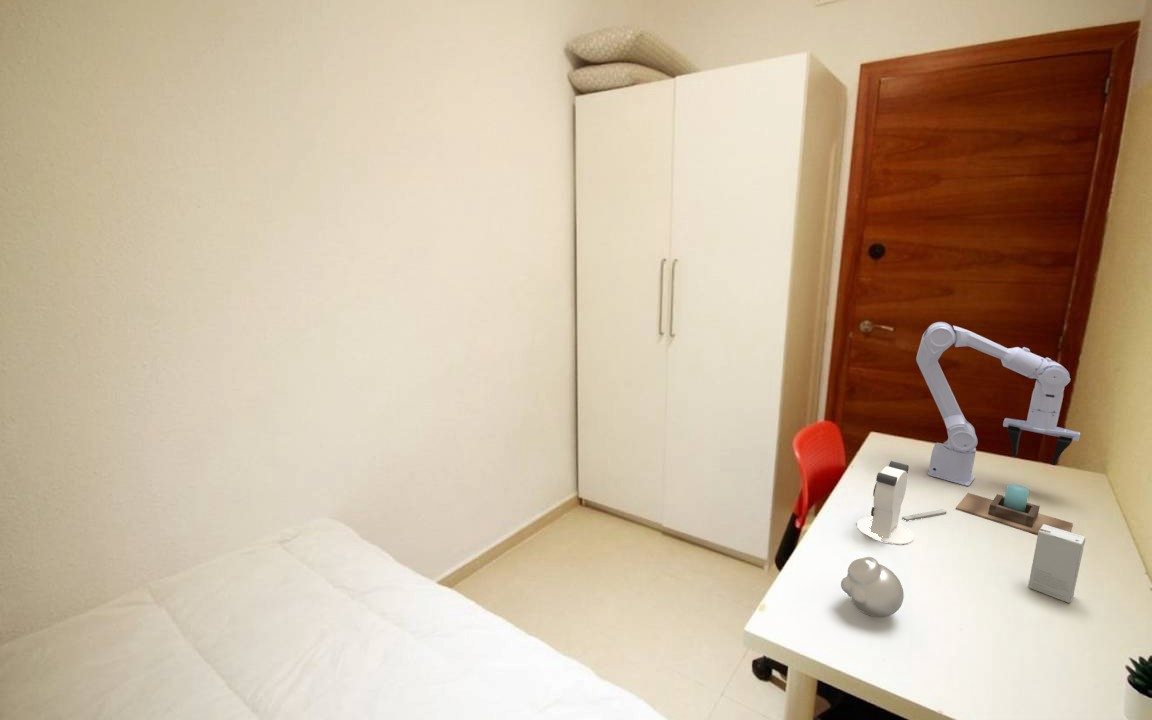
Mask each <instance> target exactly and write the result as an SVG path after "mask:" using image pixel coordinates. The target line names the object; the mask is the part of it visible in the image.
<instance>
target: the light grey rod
mask: <svg viewBox="0 0 1152 720" xmlns="http://www.w3.org/2000/svg"><path fill="white" fill-rule="evenodd" d="M947 513H948V511H947V510H945V509H936V510H931V511H926V512H920V513H916V514H909V515H905V516H901V517H902V518H901V520H903V519H904V520H906V521H905V522H910V521H909V520H912V521H916V520H915V519H917V520H921V518H922V519H927V518H931V517H936V516H937V517H938V516H942V515H943V516H944V515H947ZM904 520H903V521H904Z"/></svg>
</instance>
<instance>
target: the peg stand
mask: <svg viewBox="0 0 1152 720" xmlns="http://www.w3.org/2000/svg"><path fill="white" fill-rule="evenodd" d="M1004 499H1005V495H1001V494H998V493H997V494H996V495H995V497H994V498H993V499H991V498H987V497H984V496H980V495H978V494H974V493H970V492H967V493H966V494H965V496H963V498H962V499H961V500H960V502H959V503H958V504H957V505H956V507H955V510H957V511H960V512H962V513H963V512H964V513H966V514H970V515H973V516H976V517H980V518H982V519H986V520H989V521H992V522H995V523H999V524H1002V525H1005V526H1008V527H1010V528H1014V529H1017V530H1021V531H1024V532H1028V533H1030V534H1033V535H1036V536H1038V531H1039V530H1040V528H1041V527H1042V525H1043V524H1045V525H1048V526H1051V527H1055V528H1058V529H1061V530H1064V531H1068V532H1072V531H1071V530H1072V528H1073V522H1070V521H1066V520H1063V519H1060V518H1056V517H1053V516H1049V515H1047V514H1042V513H1040V512H1039V511H1040V505H1037V504H1034V503H1029V502H1027V504H1026V509H1025V513H1024V512H1021V511H1017V510H1014V509H1010V508H1007V507H1004V506H1003V504H1004Z"/></svg>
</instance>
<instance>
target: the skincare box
mask: <svg viewBox="0 0 1152 720" xmlns="http://www.w3.org/2000/svg"><path fill="white" fill-rule="evenodd" d="M1085 542H1086V536H1083V535H1080V534H1078V533H1077V534H1076V533H1073V532H1072V531H1070V532H1068V531H1064V530H1061V529H1058V528H1055V527H1051V526H1048V525H1045V524H1043V525H1042V527H1041V528H1040V530H1039V531H1038V535H1037V537H1036V543H1035V548H1034V552H1033V553H1034V554H1033V559H1032V564H1031V570H1030V576H1029V580H1028V584H1027V587H1028V588H1029V589H1031V590H1034V591H1036V592H1040V593H1042V594H1045V595H1047V596H1050V597H1053V598H1056V599H1058V600H1060V601H1063V602H1066V603H1068V604H1071V602H1072V600H1073V597H1074V595H1075V590H1076V585H1077V582H1078V581H1077V580H1078V577H1079V571H1080V566H1081V561H1082V556H1083V552H1084V546H1085Z"/></svg>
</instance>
